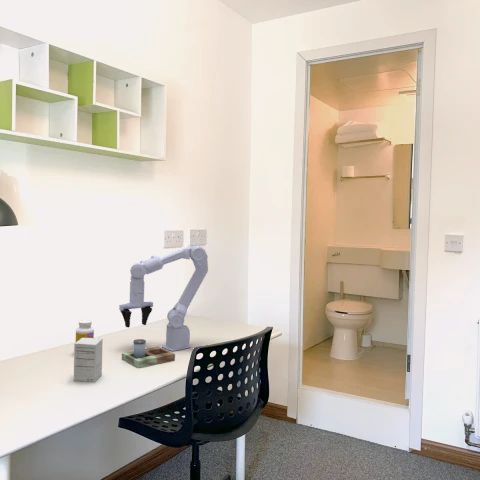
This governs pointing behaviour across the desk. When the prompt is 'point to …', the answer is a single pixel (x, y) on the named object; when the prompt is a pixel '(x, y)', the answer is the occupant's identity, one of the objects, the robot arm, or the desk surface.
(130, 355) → the rack
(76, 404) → the desk surface
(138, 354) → the tube
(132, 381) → the desk surface
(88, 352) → the supplement box
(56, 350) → the desk surface
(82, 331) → the supplement bottle
